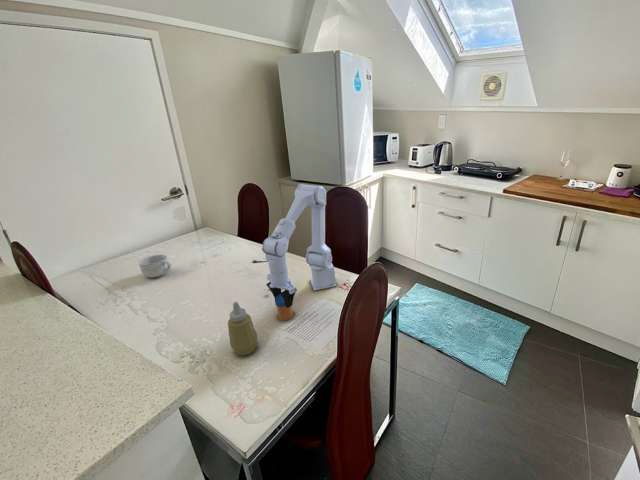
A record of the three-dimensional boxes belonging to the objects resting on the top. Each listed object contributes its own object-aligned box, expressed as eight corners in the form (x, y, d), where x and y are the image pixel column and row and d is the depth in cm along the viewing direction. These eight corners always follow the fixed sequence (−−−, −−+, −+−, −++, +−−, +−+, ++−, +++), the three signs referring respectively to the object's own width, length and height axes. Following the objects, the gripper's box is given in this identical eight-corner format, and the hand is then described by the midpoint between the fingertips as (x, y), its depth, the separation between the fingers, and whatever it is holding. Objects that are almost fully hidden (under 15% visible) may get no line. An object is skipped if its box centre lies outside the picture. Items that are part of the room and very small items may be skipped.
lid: (290, 296, 116) (290, 291, 115) (293, 304, 111) (292, 300, 110) (274, 299, 114) (273, 295, 113) (276, 308, 109) (275, 304, 108)
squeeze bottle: (237, 341, 103) (226, 295, 96) (262, 339, 104) (252, 294, 97) (228, 359, 96) (216, 312, 89) (255, 357, 96) (245, 310, 89)
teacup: (138, 277, 141) (132, 262, 138) (161, 266, 150) (156, 251, 147) (159, 283, 136) (153, 267, 133) (181, 271, 145) (176, 256, 142)
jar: (291, 310, 118) (289, 293, 115) (293, 318, 113) (291, 301, 110) (278, 313, 116) (275, 296, 113) (279, 322, 112) (276, 304, 109)
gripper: (257, 267, 109) (263, 300, 114) (280, 282, 100) (285, 316, 105) (274, 260, 113) (279, 291, 119) (298, 273, 105) (302, 306, 110)
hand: (283, 302), depth 112 cm, fingers open, 6 cm apart
